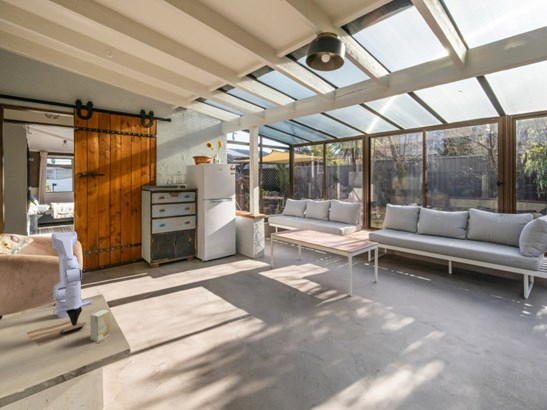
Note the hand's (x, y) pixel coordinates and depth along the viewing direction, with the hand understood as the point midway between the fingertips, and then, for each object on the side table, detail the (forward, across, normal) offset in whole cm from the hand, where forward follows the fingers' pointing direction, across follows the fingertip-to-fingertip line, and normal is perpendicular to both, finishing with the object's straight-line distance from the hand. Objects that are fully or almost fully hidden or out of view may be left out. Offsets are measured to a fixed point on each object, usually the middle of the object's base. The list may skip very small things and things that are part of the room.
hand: (74, 324), depth 129 cm
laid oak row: (+5, -5, +10) cm, 12 cm away
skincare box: (+5, +6, -13) cm, 15 cm away
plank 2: (+3, 0, +2) cm, 3 cm away
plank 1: (+5, -9, +2) cm, 10 cm away
